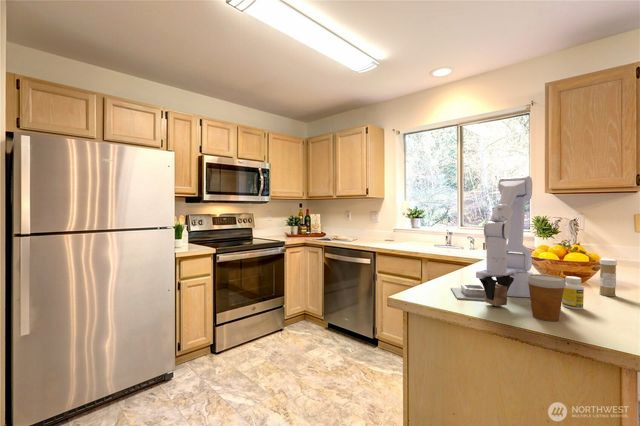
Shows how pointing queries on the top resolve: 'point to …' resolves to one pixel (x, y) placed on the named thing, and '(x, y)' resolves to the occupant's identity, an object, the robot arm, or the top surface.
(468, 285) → the collar
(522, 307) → the top surface
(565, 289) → the supplement bottle
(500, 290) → the keyed block
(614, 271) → the sprinkles bottle
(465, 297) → the socket plate
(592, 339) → the top surface
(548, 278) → the disposable coffee cup
